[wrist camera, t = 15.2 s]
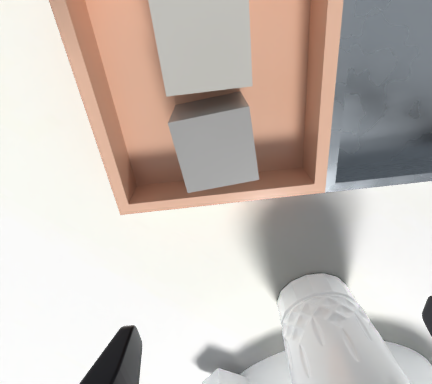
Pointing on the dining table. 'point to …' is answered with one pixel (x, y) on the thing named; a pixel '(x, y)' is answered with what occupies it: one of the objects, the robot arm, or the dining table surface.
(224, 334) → the dining table surface
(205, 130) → the grey cube
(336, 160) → the bin
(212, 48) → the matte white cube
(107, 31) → the dish
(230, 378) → the ring with crossbar
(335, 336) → the white cup
